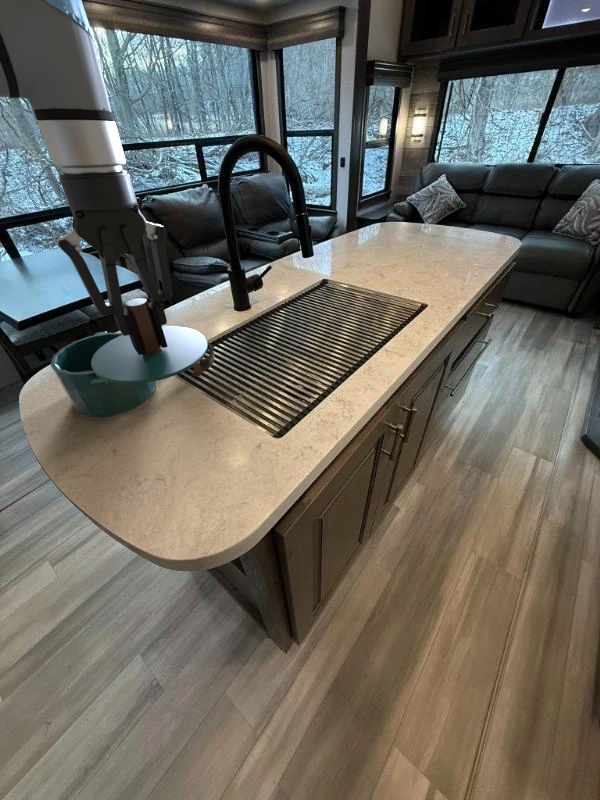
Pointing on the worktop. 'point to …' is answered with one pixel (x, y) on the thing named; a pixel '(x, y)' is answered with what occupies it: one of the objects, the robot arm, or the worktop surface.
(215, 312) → the worktop surface
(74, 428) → the worktop surface
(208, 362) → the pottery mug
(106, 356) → the lid
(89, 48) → the robot arm
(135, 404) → the pot
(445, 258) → the worktop surface
